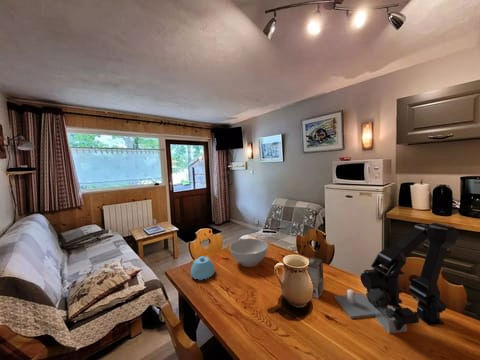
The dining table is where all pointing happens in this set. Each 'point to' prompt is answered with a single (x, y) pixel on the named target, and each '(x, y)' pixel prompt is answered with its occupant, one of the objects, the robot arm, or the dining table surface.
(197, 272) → the light blue dome
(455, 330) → the dining table surface
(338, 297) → the duct plate
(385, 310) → the collar
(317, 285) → the coffee box
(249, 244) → the decorative bowl
